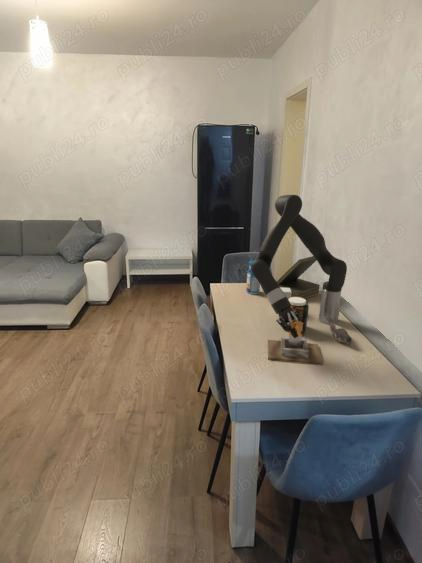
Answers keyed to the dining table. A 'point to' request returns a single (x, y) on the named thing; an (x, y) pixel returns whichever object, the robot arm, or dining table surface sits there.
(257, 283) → the beverage bottle
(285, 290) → the supplement box
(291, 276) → the open hinged box
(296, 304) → the jar
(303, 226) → the robot arm
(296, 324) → the orange rectangular block
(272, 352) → the socket board
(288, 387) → the dining table surface
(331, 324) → the decorative bird
